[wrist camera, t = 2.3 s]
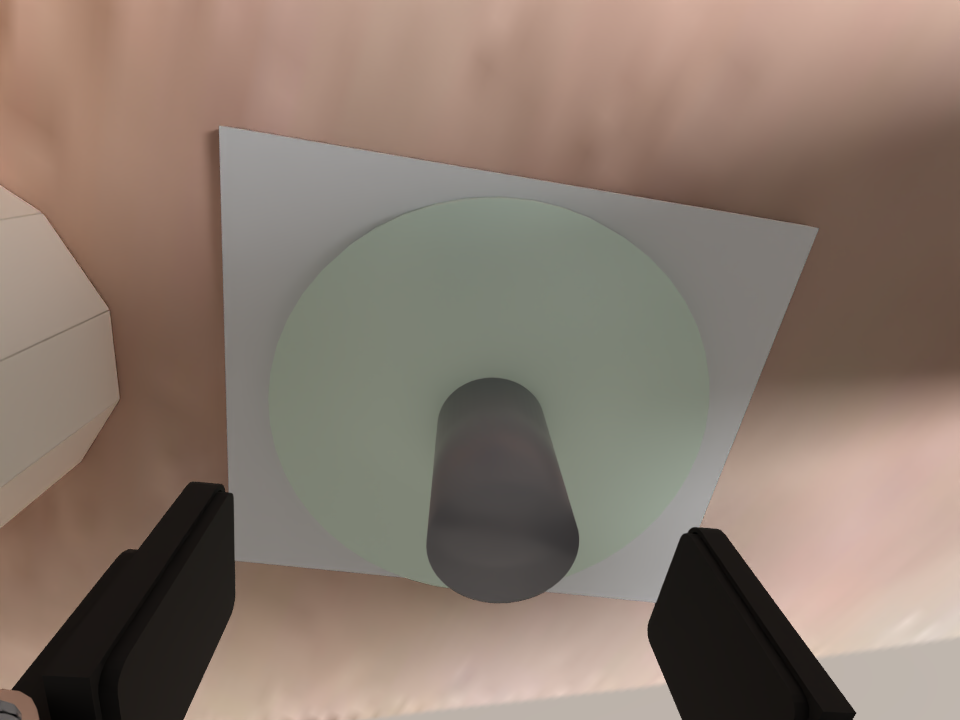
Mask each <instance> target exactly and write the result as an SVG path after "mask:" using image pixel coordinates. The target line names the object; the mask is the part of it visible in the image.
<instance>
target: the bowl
mask: <svg viewBox="0 0 960 720" xmlns="http://www.w3.org/2000/svg"><path fill="white" fill-rule="evenodd" d="M41 213H42V212H41V211H39V210H38V209H36V208H35V207H33V206H32V205H30V204H28V203H27V202H25V201H24V200H22V199H21V198H19V197H18V196H16V195H15V194H13V193H12V192H10V191H8V190H7V189H5V188H4V187H2V186H1V185H0V528H1V527H3V526H4V525H5V524H6V523H7V522H9V521H10V520H11V519H12V518H14V517H15V516H16V515H17V514H18V513H20V512H21V511H22V510H23V509H24V508H26V507H27V506H28V505H29V504H30V503H32V502H33V501H34V500H35V499H36V498H38V497H39V496H40V495H41V494H42V493H44V492H45V491H46V490H47V489H48V488H50V487H51V486H52V485H53V484H55V483H56V482H57V481H58V480H59V479H61V478H62V477H63V476H64V475H65V474H67V473H68V472H69V471H70V470H71V469H73V468H74V467H75V466H76V465H77V464H79V463H80V462H81V461H82V459H83V458H84V456H85V454H86V453H87V451H88V449H89V448H90V446H91V445H92V443H93V441H94V440H95V438H96V437H97V435H98V433H99V432H100V430H101V429H102V427H103V425H104V424H105V422H106V421H107V419H108V417H109V416H110V414H111V413H112V411H113V409H114V408H115V406H116V405H117V403H118V401H119V399H120V396H119V387H118V379H117V370H116V361H115V352H114V343H113V334H112V325H111V317H110V311H108V310H109V308H108V307H107V305H106V304H105V302H104V301H103V299H102V298H101V297H100V295H99V294H98V292H97V291H96V289H95V288H94V286H93V285H92V284H91V282H90V281H89V279H88V278H87V276H86V275H85V273H84V272H83V270H82V269H81V268H80V266H79V265H78V263H77V262H76V260H75V259H74V257H73V256H72V255H71V253H70V252H69V250H68V249H67V247H66V246H65V244H64V243H63V242H62V240H61V239H60V237H59V236H58V234H57V233H56V231H55V230H54V228H53V227H52V226H51V224H50V223H49V221H48V220H47V218H46V217H45V215H44V214H41Z"/></svg>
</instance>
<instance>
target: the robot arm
mask: <svg viewBox="0 0 960 720" xmlns="http://www.w3.org/2000/svg"><path fill="white" fill-rule="evenodd" d="M234 602H235V546H234V496H233V494H232V493H228V492H225V488H224V486H223V485H222V484H213V483H202V482H190V483H189V484H188V485H187V486H186V487H185V489H184V490H183V491H182V493H181V494H180V495H179V497H178V498H177V499H176V501H175V502H174V503H173V504H172V506H171V507H170V508H169V510H168V511H167V512H166V514H165V515H164V516H163V518H162V519H161V520H160V522H159V523H158V524H157V525H156V527H155V528H154V529H153V531H152V532H151V533H150V535H149V536H148V537H147V539H146V540H145V541H144V542H143V544H142V545H141V546H140V548H139V549H138V550H133V549H128V550H126V551H124V552H122V553H121V554H120V555H119V556H118V557H117V558H116V560H115V561H114V562H113V563H112V565H111V566H110V567H109V568H108V570H107V571H106V572H105V573H104V575H103V576H102V577H101V578H100V580H99V581H98V582H97V583H96V585H95V586H94V587H93V588H92V590H91V591H90V592H89V593H88V595H87V596H86V597H85V598H84V600H83V601H82V602H81V603H80V605H79V606H78V607H77V608H76V610H75V611H74V612H73V613H72V615H71V616H70V617H69V618H68V620H67V621H66V622H65V623H64V625H63V626H62V627H61V628H60V630H59V631H58V632H57V633H56V635H55V636H54V637H53V638H52V640H51V641H50V642H49V643H48V645H47V646H46V647H45V648H44V650H43V651H42V652H41V653H40V655H39V656H38V657H37V658H36V660H35V661H34V662H33V663H32V665H31V666H30V667H29V668H28V670H27V671H26V672H25V673H24V675H23V676H22V677H21V678H20V680H19V681H18V682H17V683H16V685H15V686H14V687H13V688H12V690H6V689H0V720H183V719H184V717H185V715H186V713H187V711H188V708H189V706H190V704H191V702H192V700H193V697H194V695H195V693H196V691H197V689H198V686H199V684H200V682H201V680H202V678H203V675H204V673H205V671H206V669H207V667H208V664H209V662H210V660H211V658H212V656H213V654H214V651H215V649H216V647H217V645H218V643H219V640H220V638H221V636H222V634H223V632H224V629H225V627H226V625H227V623H228V621H229V618H230V616H231V613H232V610H233V606H234ZM648 638H649V642H650V645H651V647H652V649H653V652H654V654H655V656H656V659H657V661H658V664H659V666H660V668H661V671H662V673H663V675H664V678H665V680H666V683H667V685H668V687H669V689H670V692H671V694H672V697H673V699H674V702H675V704H676V706H677V709H678V711H679V713H680V716H681V718H682V720H853V718H854V716H855V714H856V712H855V711H854V709H853V708H852V707H851V705H850V704H849V703H848V701H847V700H846V698H845V697H844V696H843V694H842V693H841V692H840V690H839V689H838V687H837V686H836V685H835V683H834V682H833V681H832V679H831V678H830V677H829V675H828V674H827V672H826V671H825V670H824V668H823V667H822V666H821V664H820V663H819V662H818V660H817V659H816V658H815V656H814V655H813V653H812V652H811V651H810V649H809V648H808V647H807V645H806V644H805V643H804V641H803V640H802V638H801V637H800V636H799V634H798V633H797V632H796V630H795V629H794V628H793V626H792V625H791V624H790V622H789V621H788V619H787V618H786V617H785V615H784V614H783V613H782V611H781V610H780V609H779V607H778V606H777V604H776V603H775V602H774V600H773V599H772V598H771V596H770V595H769V594H768V592H767V591H766V590H765V588H764V587H763V585H762V584H761V583H760V581H759V580H758V579H757V577H756V576H755V575H754V573H753V572H752V570H751V569H750V568H749V566H748V565H747V564H746V562H745V561H744V560H743V558H742V557H741V555H740V554H739V553H738V551H737V550H736V549H735V547H734V546H733V545H732V543H731V542H730V541H729V539H728V538H727V536H726V535H725V534H724V533H723V532H722V531H721V530H719V529H711V528H700V527H692V528H691V529H690V530H689V531H688V533H684V534H683V535H682V536H681V537H680V540H679V542H678V545H677V548H676V550H675V553H674V556H673V558H672V561H671V564H670V566H669V569H668V572H667V574H666V577H665V580H664V583H663V585H662V588H661V591H660V593H659V596H658V599H657V601H656V604H655V607H654V609H653V612H652V615H651V617H650V620H649V623H648Z"/></svg>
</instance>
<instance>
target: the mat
mask: <svg viewBox="0 0 960 720" xmlns="http://www.w3.org/2000/svg"><path fill="white" fill-rule="evenodd" d="M219 147H220V185H221V223H222V261H223V299H224V337H225V375H226V413H227V451H228V489H229V493H232V494H233V496H234V546H235V561H241V562H251V563H261V564H272V565H282V566H292V567H302V568H312V569H322V570H332V571H342V572H352V573H362V574H372V575H382V576H392V577H402V576H399V575H397V574H394V573H391V572H388V571H386V570H384V569H382V568H380V567H378V566H376V565H374V564H372V563H370V562H368V561H366V560H365V559H363V558H362V557H360V556H359V555H357V554H356V553H354V552H353V551H351V550H349V549H348V548H346V547H345V546H344V545H343V544H341V543H340V542H339V541H338V540H337V539H335V538H334V537H333V536H332V535H331V534H329V533H328V532H327V531H326V530H325V529H324V528H323V527H322V526H321V525H320V524H319V523H318V521H317V520H316V519H315V518H314V517H313V516H312V515H311V514H310V513H309V511H308V510H307V509H306V507H305V506H304V505H303V503H302V502H301V500H300V499H299V498H298V496H297V495H296V493H295V492H294V490H293V488H292V486H291V484H290V482H289V481H288V479H287V477H286V475H285V473H284V471H283V468H282V466H281V463H280V460H279V458H278V455H277V452H276V450H275V446H274V441H273V436H272V432H271V427H270V420H269V404H268V393H269V381H270V371H271V367H272V362H273V358H274V354H275V350H276V346H277V343H278V341H279V338H280V336H281V333H282V331H283V328H284V326H285V324H286V321H287V319H288V317H289V315H290V314H291V312H292V310H293V309H294V307H295V305H296V304H297V302H298V300H299V299H300V297H301V295H302V294H303V292H304V291H305V290H306V289H307V288H308V286H309V285H310V284H311V283H312V282H313V280H314V279H315V278H316V277H317V276H318V274H319V273H320V272H321V271H322V270H323V269H324V268H325V267H326V266H327V265H328V264H329V263H330V262H332V261H333V260H334V259H335V258H336V257H337V256H338V255H339V254H340V253H341V252H343V251H344V250H345V249H346V248H347V247H348V246H349V245H350V244H352V243H353V242H355V241H356V240H358V239H359V238H361V237H362V236H364V235H365V234H367V233H368V232H370V231H371V230H373V229H374V228H376V227H377V226H379V225H381V224H383V223H385V222H387V221H390V220H392V219H394V218H396V217H398V216H400V215H402V214H404V213H407V212H410V211H413V210H416V209H419V208H422V207H425V206H428V205H431V204H434V203H439V202H445V201H450V200H456V199H462V198H468V197H494V196H501V197H512V198H522V199H531V200H536V201H540V202H544V203H548V204H552V205H556V206H561V207H564V208H566V209H569V210H571V211H574V212H576V213H579V214H581V215H584V216H586V217H589V218H591V219H593V220H595V221H596V222H598V223H600V224H602V225H603V226H605V227H607V228H609V229H610V230H612V231H614V232H616V233H617V234H619V235H621V236H623V237H624V238H626V239H627V240H628V241H630V242H631V243H632V244H633V245H635V246H636V247H637V248H639V249H640V250H641V251H642V252H644V253H645V254H646V255H647V256H649V257H650V258H651V259H652V260H653V262H654V263H655V264H656V265H657V266H658V267H659V268H660V269H661V270H662V271H663V272H664V273H665V274H666V275H667V276H668V277H669V279H670V280H671V281H672V283H673V284H674V286H675V287H676V289H677V290H678V292H679V293H680V294H681V296H682V297H683V299H684V300H685V302H686V304H687V306H688V308H689V310H690V312H691V314H692V316H693V318H694V320H695V322H696V324H697V326H698V330H699V333H700V336H701V339H702V343H703V346H704V349H705V352H706V359H707V366H708V373H709V409H708V415H707V422H706V429H705V432H704V435H703V439H702V442H701V446H700V449H699V452H698V455H697V457H696V459H695V461H694V463H693V466H692V468H691V470H690V472H689V475H688V476H687V478H686V480H685V481H684V483H683V484H682V486H681V488H680V489H679V491H678V493H677V494H676V496H675V497H674V498H673V500H672V501H671V502H670V503H669V505H668V506H667V507H666V508H665V510H664V511H663V512H662V513H661V515H660V516H659V517H658V518H657V519H656V520H655V521H654V522H653V523H652V524H651V525H650V526H649V527H648V528H647V529H646V530H645V531H644V532H643V533H641V534H640V535H639V536H638V537H636V538H635V539H634V540H632V541H631V542H630V543H629V544H627V545H626V546H625V547H623V548H622V549H620V550H619V551H617V552H616V553H614V554H612V555H611V556H609V557H607V558H606V559H604V560H603V561H601V562H599V563H597V564H595V565H593V566H590V567H588V568H586V569H584V570H582V571H580V572H577V573H575V574H572V575H569V576H566V577H564V578H562V579H561V580H560V581H559V582H558V583H557V584H556V585H554V586H553V587H552V588H550V589H548V590H547V591H545V592H553V593H563V594H573V595H583V596H593V597H603V598H613V599H623V600H633V601H644V602H654V603H656V601H657V599H658V596H659V593H660V591H661V588H662V585H663V583H664V580H665V577H666V574H667V572H668V569H669V566H670V564H671V561H672V558H673V556H674V553H675V550H676V548H677V545H678V542H679V540H680V537H681V536H682V535H683V534H684V533H688V531H689V530H690V529H691V528H692V527H700V524H701V522H702V519H703V517H704V514H705V512H706V509H707V507H708V504H709V502H710V499H711V497H712V494H713V492H714V489H715V487H716V484H717V482H718V479H719V477H720V474H721V472H722V469H723V467H724V464H725V462H726V459H727V457H728V454H729V452H730V449H731V447H732V444H733V442H734V439H735V437H736V434H737V432H738V429H739V427H740V424H741V422H742V419H743V417H744V414H745V412H746V410H747V407H748V405H749V402H750V400H751V397H752V395H753V392H754V390H755V387H756V385H757V382H758V380H759V377H760V375H761V372H762V370H763V367H764V365H765V362H766V360H767V357H768V355H769V352H770V350H771V347H772V345H773V342H774V340H775V337H776V335H777V332H778V330H779V327H780V325H781V322H782V320H783V317H784V315H785V312H786V310H787V307H788V305H789V302H790V300H791V297H792V295H793V292H794V290H795V287H796V285H797V282H798V280H799V277H800V275H801V272H802V270H803V267H804V265H805V262H806V260H807V257H808V255H809V252H810V250H811V247H812V245H813V242H814V240H815V237H816V235H817V232H818V230H819V228H816V227H812V226H807V225H802V224H796V223H790V222H784V221H779V220H773V219H767V218H761V217H755V216H749V215H744V214H738V213H732V212H726V211H720V210H714V209H708V208H703V207H697V206H691V205H685V204H679V203H673V202H668V201H662V200H656V199H650V198H644V197H638V196H632V195H627V194H621V193H615V192H609V191H603V190H597V189H592V188H586V187H580V186H574V185H568V184H562V183H556V182H551V181H545V180H539V179H533V178H527V177H521V176H516V175H510V174H504V173H498V172H492V171H486V170H480V169H475V168H469V167H463V166H457V165H451V164H445V163H440V162H434V161H428V160H422V159H416V158H410V157H404V156H399V155H393V154H387V153H381V152H375V151H369V150H364V149H358V148H352V147H346V146H340V145H334V144H328V143H323V142H317V141H311V140H305V139H299V138H293V137H288V136H282V135H276V134H270V133H264V132H258V131H252V130H247V129H241V128H235V127H229V126H219ZM402 578H405V577H402Z"/></svg>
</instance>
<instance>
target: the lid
mask: <svg viewBox="0 0 960 720" xmlns="http://www.w3.org/2000/svg"><path fill="white" fill-rule="evenodd" d="M268 404H269V420H270V427H271V432H272V436H273V441H274V446H275V450H276V452H277V455H278V458H279V460H280V463H281V466H282V468H283V471H284V473H285V475H286V477H287V479H288V481H289V482H290V484H291V486H292V488H293V490H294V492H295V493H296V495H297V496H298V498H299V499H300V500H301V502H302V503H303V505H304V506H305V507H306V509H307V510H308V511H309V513H310V514H311V515H312V516H313V517H314V518H315V519H316V520H317V521H318V523H319V524H320V525H321V526H322V527H323V528H324V529H325V530H326V531H327V532H328V533H329V534H331V535H332V536H333V537H334V538H335V539H337V540H338V541H339V542H340V543H341V544H343V545H344V546H345V547H346V548H348V549H349V550H351V551H353V552H354V553H356V554H357V555H359V556H360V557H362V558H363V559H365V560H366V561H368V562H370V563H372V564H374V565H376V566H378V567H380V568H382V569H384V570H386V571H388V572H391V573H394V574H397V575H399V576H402V577H405V578H407V579H410V580H413V581H417V582H421V583H425V584H429V585H433V586H438V587H445V588H450V589H452V590H453V591H455V592H457V593H459V594H461V595H463V596H465V597H468V598H470V599H473V600H477V601H482V602H488V603H511V602H517V601H522V600H526V599H529V598H532V597H535V596H537V595H539V594H541V593H543V592H545V591H547V590H548V589H550V588H552V587H553V586H554V585H556V584H557V583H558V582H559V581H560V580H561V579H562V578H564V577H566V576H569V575H572V574H575V573H577V572H580V571H582V570H584V569H586V568H588V567H590V566H593V565H595V564H597V563H599V562H601V561H603V560H604V559H606V558H607V557H609V556H611V555H612V554H614V553H616V552H617V551H619V550H620V549H622V548H623V547H625V546H626V545H627V544H629V543H630V542H631V541H632V540H634V539H635V538H636V537H638V536H639V535H640V534H641V533H643V532H644V531H645V530H646V529H647V528H648V527H649V526H650V525H651V524H652V523H653V522H654V521H655V520H656V519H657V518H658V517H659V516H660V515H661V513H662V512H663V511H664V510H665V508H666V507H667V506H668V505H669V503H670V502H671V501H672V500H673V498H674V497H675V496H676V494H677V493H678V491H679V489H680V488H681V486H682V484H683V483H684V481H685V480H686V478H687V476H688V475H689V472H690V470H691V468H692V466H693V463H694V461H695V459H696V457H697V455H698V452H699V449H700V446H701V442H702V439H703V435H704V432H705V429H706V422H707V415H708V409H709V373H708V366H707V359H706V352H705V349H704V346H703V343H702V339H701V336H700V333H699V330H698V326H697V324H696V322H695V320H694V318H693V316H692V314H691V312H690V310H689V308H688V306H687V304H686V302H685V300H684V299H683V297H682V296H681V294H680V293H679V292H678V290H677V289H676V287H675V286H674V284H673V283H672V281H671V280H670V279H669V277H668V276H667V275H666V274H665V273H664V272H663V271H662V270H661V269H660V268H659V267H658V266H657V265H656V264H655V263H654V262H653V260H652V259H651V258H650V257H649V256H647V255H646V254H645V253H644V252H642V251H641V250H640V249H639V248H637V247H636V246H635V245H633V244H632V243H631V242H630V241H628V240H627V239H626V238H624V237H623V236H621V235H619V234H617V233H616V232H614V231H612V230H610V229H609V228H607V227H605V226H603V225H602V224H600V223H598V222H596V221H595V220H593V219H591V218H589V217H586V216H584V215H581V214H579V213H576V212H574V211H571V210H569V209H566V208H564V207H561V206H556V205H552V204H548V203H544V202H540V201H536V200H531V199H522V198H512V197H501V196H494V197H468V198H462V199H456V200H450V201H445V202H439V203H434V204H431V205H428V206H425V207H422V208H419V209H416V210H413V211H410V212H407V213H404V214H402V215H400V216H398V217H396V218H394V219H392V220H390V221H387V222H385V223H383V224H381V225H379V226H377V227H376V228H374V229H373V230H371V231H370V232H368V233H367V234H365V235H364V236H362V237H361V238H359V239H358V240H356V241H355V242H353V243H352V244H350V245H349V246H348V247H347V248H346V249H345V250H344V251H343V252H341V253H340V254H339V255H338V256H337V257H336V258H335V259H334V260H333V261H332V262H330V263H329V264H328V265H327V266H326V267H325V268H324V269H323V270H322V271H321V272H320V273H319V274H318V276H317V277H316V278H315V279H314V280H313V282H312V283H311V284H310V285H309V286H308V288H307V289H306V290H305V291H304V292H303V294H302V295H301V297H300V299H299V300H298V302H297V304H296V305H295V307H294V309H293V310H292V312H291V314H290V315H289V317H288V319H287V321H286V324H285V326H284V328H283V331H282V333H281V336H280V338H279V341H278V343H277V346H276V350H275V354H274V358H273V362H272V367H271V371H270V381H269V393H268Z"/></svg>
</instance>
